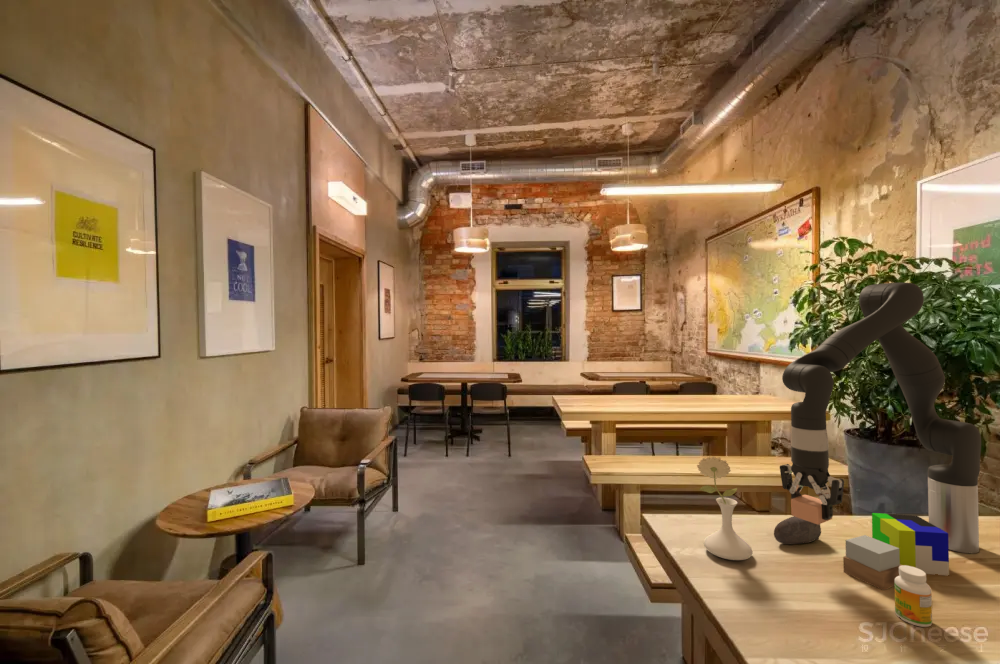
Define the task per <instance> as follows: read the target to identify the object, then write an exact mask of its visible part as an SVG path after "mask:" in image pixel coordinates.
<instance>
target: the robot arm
mask: <svg viewBox="0 0 1000 664" xmlns="http://www.w3.org/2000/svg"><path fill="white" fill-rule="evenodd" d="M924 299H925V298H924V293H923V291H922V289H921V288H920V286H918V284H915V283H912V282H902V281H901V282H888V283H875V284H871V285H870V284H869V285H867V286H865V287H863V288H862V290H861V292H860V293H859V300H858V303H859V307H860V309H861V313H862V314H863V316H864V318H861V319H860V320H858V321H856V322H853V323H851V324H849V325H847V326H844V327H843V328H841V329H839V330H837V331H836V332H834V333H832V334H831V335H830V336H829V337H827V338H826V339H825V340H824V341H823V342H822V343H820V344H819V346H817V348H815V349H814V350H812V351H810V352H808V353H805V354H804V355H802V356H800V357H798V358H797V359H795V360H793V361H791V363H789V364H788V365H787V366H786V367H785V369H784V370H783V372H782V376H781V377H782V379H781V380H782V384H783V385H784V387H785V388H787V389H788V390H790V391H793V392H798V393H803V394H804V393H805V394H804V398H803V401H798V402H797V401H796V402H794V403H793V404H791V406H790V407H791V408H790V420H791V421H790V424H791V426H790V427H791V428H790V461H791V464H792V465H791V464H788V463H787V464H782V465H779V472H780V479H781V485H782V489H784V490H787V491H789V493H790V500H791V499H793V498H796V497H799V496H802V493H800V492H802V489H803V488H804V487H807V488H810V489H811V490H814V492H815V494H816V495H817V496H818V497H819V499H821V501H822V503H823V504H821V506H822V519H824V520H829V519H830V518H832V519H833V516H834V515H833V514H834V513H833V511H834V509H833V508H834V507H833V506H835V505H839V504H842V502H843V496H844V486H845V480H844V479H843V478H841V477H840V478H836V477H833V476H831V474H830V472H829V467H830V458H829V457H830V456H829V455H830V453H829V452H830V451H829V437H828V431H827V410H828V406H829V403H830V400H831V396H832V394H833V389H834V384H835V383H834V377H833V374H832V373H833V372H839V371H841V370H842V369H844V368H845V367H846V366H847V365H848V364H849V363H850V362H852V360H853V359H854V358H855V357H857V356H858V355H859V354H860V353H861V352H862V351H863V350H865V349H866V348H867V347H868V346H870V345H871V344H872V343H874V342H875V341H877V340H878V341H879V343H880V345H881V348H882V350H883V351H884V354H885V356H886V358H887V360H888V363H889V365H890V368H891V371H892V373H893V375H894V377H895V380H896V381H897V384H898V385H899V387H900V389H901V391H902V394H903V396H904V398H905V401H906V403H907V407H908V410H909V413H910V415H911V419H912V422H913V426H914V429H915V432H916V435H917V438H918V440H919V443H920V444H921V445H922V447H923V448H925V449H926V450H928V451H931V452H934V453H938V454H944V455H949V456H952V457H951V462H950V463H947V464H934V465H929V466H928V468H927V500H928V501H927V502H928V503H927V504H928V507H927V508H928V522H929V523H931V524H933V525H934V526H936V527H938V528H940V529H941V530H943V531H945V532H947V533H948V541H949V550H950V551H953V552H957V553H958V552H959V553H965V554H976V553H979V552H980V538H979V537H980V532H979V531H980V529H979V528H980V527H979V489H978V488H979V487H978V484H979V481H978V480H979V476H980V470H981V453H982V437H981V436H982V435H981V433H980V430H979V428H978V427H977V426H976V425H974V424H973V423H968V422H965V421H958V420H952V419H945V418H941V417H939V415H938V414H937V412H936V407H935V402H936V400H937V398H938V396H939V395H940V393H941V392H942V390H943V388H944V386H945V382H946V376H945V372H944V370H943V368H942V366H941V363H940V361H939V358H938V357H937V356H936V354H935V353H934V351H932V350H931V349H930V348H929V347H928V346H927V345H926V344H924V343H923V342H921V341H920V340H919V339H918V338H916V337H915V336H914V335H913V334H911V333H910V332H909V331H908V330H907V329H906V328H905V327H904V326H903V324H904V323H906V322H907V321H908V320H910V319H912V318H913V317H915V316H916V315H917V314H918V313H919V312H920V310H921V309H922V308H923V305H924V301H925V300H924ZM792 473H793V475H792ZM793 476H794V479H793ZM827 483H829V486H828V484H827ZM829 487H830V488H831V489H830V488H829ZM829 521H830V520H829Z"/></svg>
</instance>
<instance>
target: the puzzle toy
mask: <svg viewBox="0 0 1000 664" xmlns="http://www.w3.org/2000/svg"><path fill="white" fill-rule="evenodd" d="M871 530H872V532H871V533H872V535H871V536H872V537H871V538H874V539H876V540H879V541H882V542H884V543H887V544H889V545H892V546H895V547H897V548H899V560H900V564H901V565H906V566H912V567H915V568H918V569H920V570H922V571H924V572H925V573H926V575H935V574H938V576H948V575H949V576H950V552H949V541H948V533H947V532H945V531H943V530H941V529H940V528H938V527H936V526H934V525H933V524H931V523H929V521H927V520H926V519H923V518H921V517H920V516H918V515H915V514H913V515H912V514H897V513H896V514H895V513H879V512H872V513H871Z"/></svg>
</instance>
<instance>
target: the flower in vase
mask: <svg viewBox="0 0 1000 664" xmlns="http://www.w3.org/2000/svg"><path fill="white" fill-rule="evenodd" d="M696 468H698V469H697V470H698V471H699V472H700V474H701V475H703V476H704V477H708V478H709V479H714V481H713V482H714V486H711V485H709V484H708V485H707V484H705V485H703V486H701V487H700V488H699V491H702V492H704V493H705V492H706V493H709V494H713V493H715V492H717V493H718V494H719V496H720V497H717V498H715V501H716V502H717V504H718V506H719V508H720V511H721V518H722V519H721V520H722V522H721V527H720V528H719V529H718V530H716V531H714V532H712V533H710V534H709V535H707V536H706V537H705V538H704V540H703V546H704V548H705V549H706V550H707V551H708V552H709V553H711V554H712V555H714V556H716V557H719V558H722V559H725V560H729V561H745V560H747V559H749V558H750V557H752V556H753V554H754V553H753V549H752V546H751V545H750V544H749V543H748V542H747V541H746V540H745V539H744V538H743V537H741V535H739V534H738V533H737V532H736V531H735V530H734V529H733V522H732V521H733V512H734V510H735V507H736V506H737V505H738V503H739V502H738V501H737V500H735V499H733V498H729V497H731V496H733V495H734V494H735V493H736V492H737V490H738V487H736V488H733V489H730V488H729V489H726V490H724V492H723V493H721V492H720V491H719V489H718V487H717V482H716V481H717V480H716V479H721V478H726V477H727V476H728V475H729V474H730V473H731V472H732V470H731V467H730V465H729V463H728V462H727V460H724V459H722V458H721V457H716V456H712V457H711V456H709V455H708V456H707V457H703V458H702V459H700V460H699V462H698V464H697V465H696Z"/></svg>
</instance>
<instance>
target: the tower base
mask: <svg viewBox="0 0 1000 664" xmlns="http://www.w3.org/2000/svg"><path fill="white" fill-rule="evenodd" d="M842 560H843V561H842V563H843V565H842V566H843V573H845V574H847V575H849V576H851V577H853V578H856V579H859V580H860V581H862V582H865V583H867V584H869V585H872V586H873V587H876V588H878V589H879V590H882V591H885V590H888V589H890V588H893V587H895V583H894V582H895V578H896V577H897V576H900V575H899V566H897V567H894V568H890V569H887V570H884V571H881V572H879V571H877V570H875V569H872V568H870V567H868V566H866V565H863V564H861V563H859V562H857V561H854V560H852V559H850V558H848V557H846V555H845V556H844V555H843V557H842ZM900 566H902V565H901V564H900Z"/></svg>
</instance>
